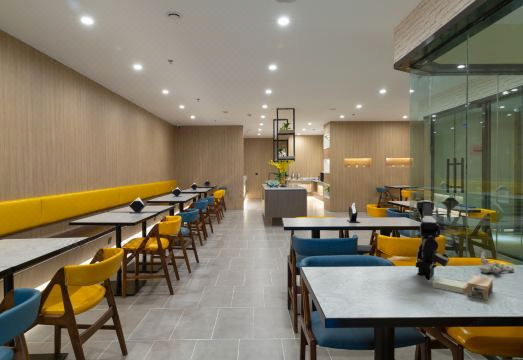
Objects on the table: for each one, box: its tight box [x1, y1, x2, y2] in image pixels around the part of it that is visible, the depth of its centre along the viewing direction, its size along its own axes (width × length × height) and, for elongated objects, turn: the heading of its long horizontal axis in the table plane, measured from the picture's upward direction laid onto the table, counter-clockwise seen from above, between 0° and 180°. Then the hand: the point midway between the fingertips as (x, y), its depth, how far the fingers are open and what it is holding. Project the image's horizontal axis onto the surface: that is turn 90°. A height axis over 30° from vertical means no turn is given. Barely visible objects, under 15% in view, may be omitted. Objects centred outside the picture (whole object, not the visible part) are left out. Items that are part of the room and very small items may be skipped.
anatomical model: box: [479, 251, 515, 274], centre depth 180 cm, size 19×8×20 cm
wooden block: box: [466, 275, 494, 301], centre depth 142 cm, size 7×15×6 cm, turn 138°
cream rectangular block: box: [432, 277, 468, 295], centre depth 150 cm, size 13×10×2 cm
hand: (428, 280), depth 156 cm, fingers closed
